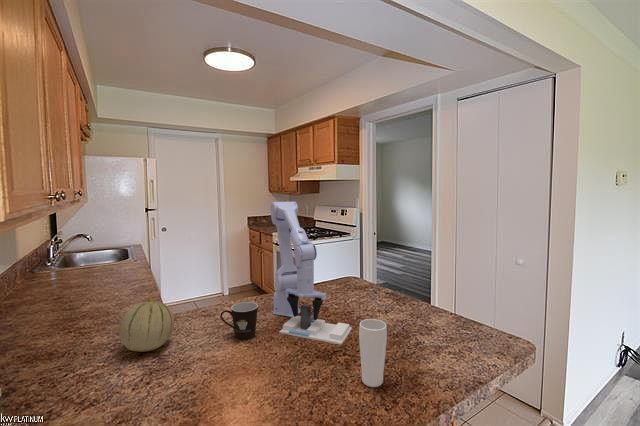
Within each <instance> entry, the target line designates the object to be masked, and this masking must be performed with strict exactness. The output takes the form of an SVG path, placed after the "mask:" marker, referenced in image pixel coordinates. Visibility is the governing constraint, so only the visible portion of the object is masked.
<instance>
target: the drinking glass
mask: <svg viewBox="0 0 640 426" xmlns="http://www.w3.org/2000/svg"><path fill="white" fill-rule="evenodd" d="M387 331H388V329H387V324H386V322H385V321H383V320H380V319H377V318H367V319H362V320H361V321H360V322H359V332H358V341H359V342H358V343H359V353H360V355H359V356H360V366H361V381H362V383H363V384H364V386H366V387H370V388H378V387H380V386H382V384H383V383H384V371H385V369H384V368H385V360H386V352H387V351H386V350H387V342H388V340H387V338H388V335H387V334H388V333H387Z"/></svg>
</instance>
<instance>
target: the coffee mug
mask: <svg viewBox="0 0 640 426" xmlns="http://www.w3.org/2000/svg"><path fill="white" fill-rule="evenodd" d="M258 309H259V304H257V303H256V302H253V301H243V302H238V303H236V304H235V303H234V304H233V305H232V306H231V307H230V310H228V309H225V310H222V312H220V314H219V315H220V317H219V318H220V320H221V321H222V322H223V323H225V324H226V325H227V326H229V327H231V328H232V329H233V331H234V337H235V339H236V341H240V342H244V341H250V340H252V339H254V338H255V337H256V331H257V330H256V329H257V318H258ZM224 313H228V314H229V315H230V316H231V317H232V322H233V323H232V324H231V323H229V322H228V321H227V320H225V319H224V318H223V315H224Z"/></svg>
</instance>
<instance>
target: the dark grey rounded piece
mask: <svg viewBox="0 0 640 426" xmlns="http://www.w3.org/2000/svg"><path fill="white" fill-rule="evenodd" d="M300 309H301V312H300V313H299V314H300V315H299V316H300V328H301V329H304V330H307V329H308V328H309V327H310V326H311V320H312V319H313V320H314V318H313V314H312V306H311V304H301V305H300Z"/></svg>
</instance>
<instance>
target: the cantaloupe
mask: <svg viewBox="0 0 640 426" xmlns="http://www.w3.org/2000/svg"><path fill="white" fill-rule="evenodd" d="M174 327H175V316H174V313H173V311H172V309H170V307H169V306H168V305H166V304H164V303H163V302H161V301H154V300H153V298H151V297H148V301H143V302H139V303H136V304H134V305H132V306H131V307H130V308H129V309H127V310H126V312H125V313H124V314H123V316H122V317H121V319H120V322H119V325H118V336H119V337H118V338H119V340H120V342H121V344H123V346H124V347H125V348H126V349H127V350H129V351H131V352H132V351H133V352H139V353H146V352H151V351H154V350H157V349H158V348H160V347H162V346H163V345H165V343H166V342H167V341H168V340H169V339H170V337H171V336H172V335H173V332H174Z"/></svg>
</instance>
